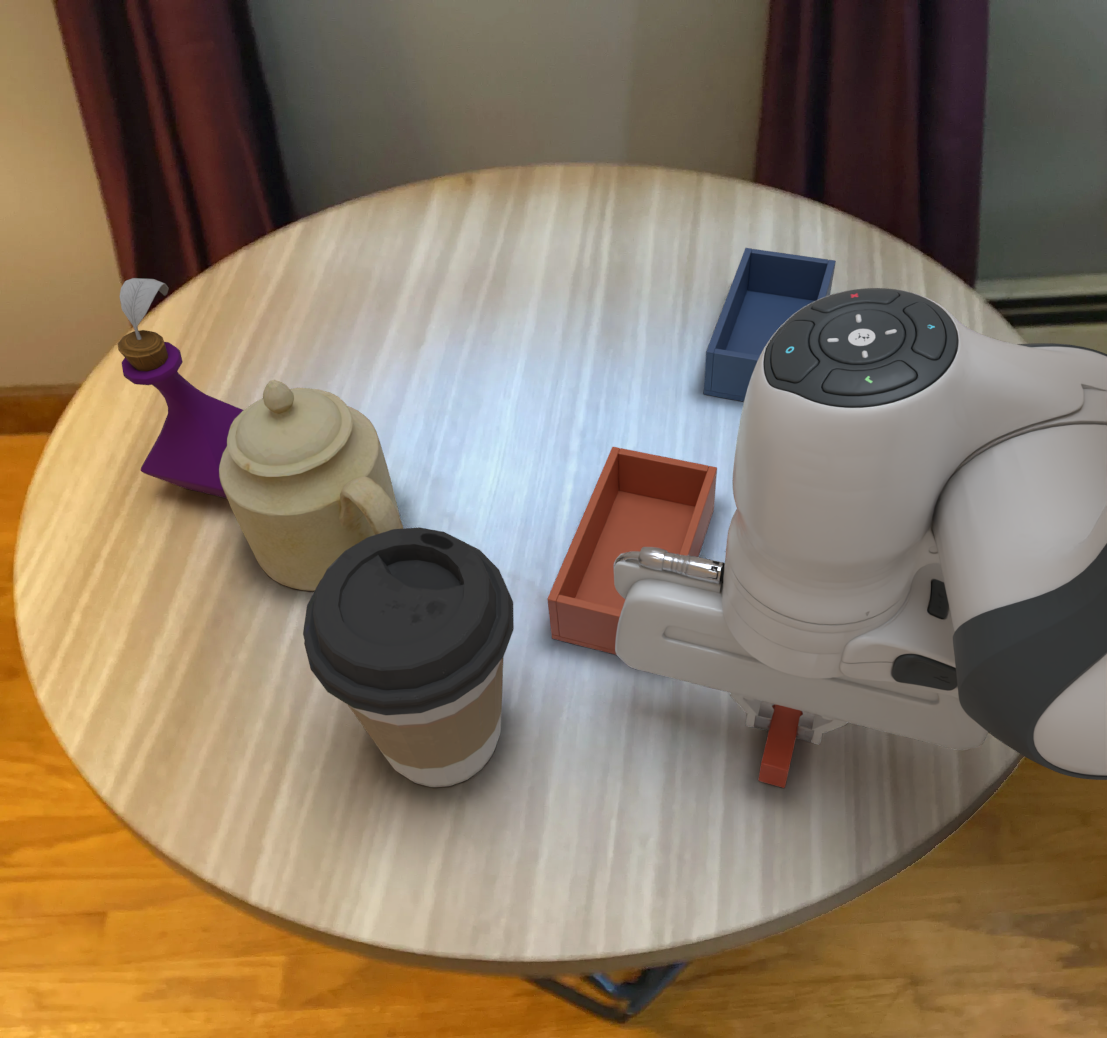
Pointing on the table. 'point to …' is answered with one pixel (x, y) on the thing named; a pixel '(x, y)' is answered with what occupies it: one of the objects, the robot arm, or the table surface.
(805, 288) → the blue bin
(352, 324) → the table surface
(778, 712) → the red spoon
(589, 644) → the red bin
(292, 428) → the sugar bowl
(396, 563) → the coffee cup
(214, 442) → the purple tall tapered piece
